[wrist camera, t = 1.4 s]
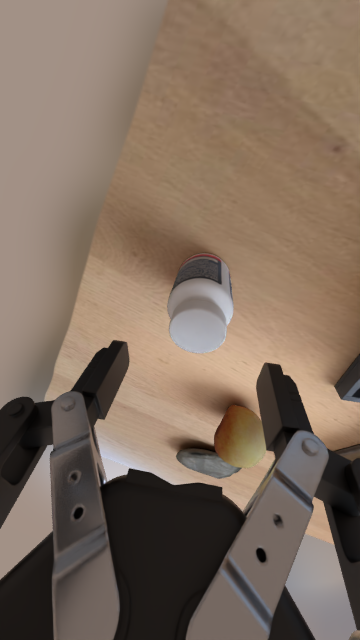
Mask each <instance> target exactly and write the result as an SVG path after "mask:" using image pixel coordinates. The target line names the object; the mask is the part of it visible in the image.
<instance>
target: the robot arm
mask: <svg viewBox="0 0 360 640" xmlns="http://www.w3.org/2000/svg"><path fill="white" fill-rule="evenodd" d="M128 367H129V353H128V345H127V342H123V341H117V340H113V341H112V343H111V344H110V346H109V347H108V348H102V349H101V350H100V351H98V352H97V353H96V354H95V356H94V357H93V359H92V360H91V362H90V363H89V364H88V367H86V369H85V370H84V372H83V373H82V375H81V376H80V378H79V379H78V381H77V382H76V384H75V385H74V387H73V388H72V390H71V391H70V392H66V393H64V394H62V395H60V396H59V397H58V398H57V399H56V400H53V401H46V402H39V403H34V401H33V400H32V399H31V398H29V397H20V398H16V399H14V400H12V401H10V402H8V403H7V404H6V405H5V406H3V407H2V409H1V410H0V528H1V527H2V525H3V523H4V521H5V520H6V518H7V516H8V514H9V513H10V511H11V509H12V507H13V505H14V504H15V502H16V500H17V498H18V497H19V495H20V493H21V491H22V490H23V488H24V486H25V484H26V482H27V481H28V479H29V477H30V475H31V474H32V472H33V470H34V468H35V466H36V465H37V463H38V461H39V459H40V458H41V456H42V454H43V452H44V451H45V449H46V447H47V445H52V444H53V445H54V448H53V451H52V452H51V453H50V474H51V495H52V496H51V497H52V519H53V531H52V532H51V533H50V534H49V535H48V536H47V537H46V538H45V539H44V540H43V541H42V542H40V543H39V544H38V545H37V546H36V547H35V548H34V549H33V550H32V551H31V552H30V553H29V554H28V555H26V556H25V557H24V558H23V559H22V560H21V561H20V562H19V563H18V564H17V565H16V566H15V567H14V568H13V569H11V570H10V571H9V572H8V573H7V574H6V575H5V576H4V577H3V578H2V579H1V580H0V640H315V638H314V636H313V634H312V633H311V631H310V629H309V627H308V625H307V624H306V622H305V620H304V618H303V617H302V615H301V613H300V611H299V609H298V608H297V606H296V604H295V602H294V601H293V599H292V597H291V595H290V593H289V592H288V590H287V588H286V586H285V583H286V581H287V578H288V575H289V573H290V570H291V568H292V565H293V562H294V560H295V557H296V555H297V552H298V549H299V547H300V544H301V541H302V539H303V536H304V534H305V531H306V529H307V526H308V523H309V521H310V518H311V515H312V513H313V508H314V505H313V504H312V500H313V497H314V496H315V497H316V498H318V499H320V500H322V501H323V503H324V506H325V510H326V514H327V518H328V522H329V525H330V529H331V533H332V537H333V541H334V544H335V548H336V552H337V556H338V559H339V563H340V567H341V571H342V575H343V578H344V582H345V586H346V590H347V593H348V597H349V601H350V605H351V609H352V613H353V616H354V620H355V624H356V628H357V631H355V632H353V633H352V635H351V636H350V638H349V640H360V458H356V459H355V460H353V461H351V460H349V459H347V458H345V457H343V456H341V455H338V454H336V453H334V452H332V451H331V450H329V449H327V448H326V446H325V445H324V443H323V442H322V441H321V440H320V439H319V438H318V437H317V436H316V435H314V433H313V431H312V428H311V426H310V423H309V420H308V417H307V414H306V411H305V409H304V406H303V403H302V402H301V401H302V400H301V397H300V395H299V392H298V389H297V386H296V384H295V382H294V381H293V380H292V379H291V377H290V376H288V375H283V371H282V368H281V366H280V365H279V364H272V363H264V365H263V368H262V370H261V372H260V375H259V377H258V380H257V385H256V390H257V396H258V402H259V408H260V414H261V420H262V426H263V432H264V438H265V444H266V450H268V451H273V452H274V454H275V460H274V462H273V463H272V465H271V467H270V468H269V470H268V472H267V473H266V475H265V477H264V478H263V480H262V482H261V483H260V485H259V487H258V488H257V490H256V492H255V493H254V495H253V496H252V498H251V499H250V501H249V502H248V504H247V506H246V507H245V509H244V511H243V512H242V511H241V510H240V508H239V507H238V506H237V505H236V504H235V503H234V502H233V501H232V500H230V499H229V498H228V497H226V496H225V495H223V494H222V487H218V486H213V485H209V484H204V483H190V484H181V485H172V484H170V483H168V482H167V481H165V480H163V479H161V478H160V477H158V476H156V475H154V474H152V473H150V472H145V471H140V470H135V469H129V471H128V474H127V475H123V476H119V477H116V478H114V479H112V480H110V481H108V482H107V478H106V474H105V471H104V467H103V463H102V459H101V455H100V450H99V445H98V441H97V436H96V432H95V427H94V425H95V423H96V421H97V419H103V420H105V417H106V415H107V413H108V411H109V409H110V407H111V404H112V402H113V400H114V398H115V396H116V394H117V391H118V389H119V387H120V385H121V383H122V381H123V378H124V376H125V374H126V372H127V370H128Z"/></svg>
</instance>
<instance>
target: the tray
mask: <svg viewBox="0 0 360 640" xmlns="http://www.w3.org/2000/svg"><path fill="white" fill-rule="evenodd" d="M334 387H335V389H336V391H337V392H338V394H339V396H340V398H341V400H347V401H353V402H360V354H359V356H358V357H357V358H356V360H355V361H354V362H353V363H352V365H351V366H350V367H349V368H348V370H347V371H346V372H345V373H344V375H343V376H342V377H341V379H340V380H339V381H338V382H337V384H336V385H335V386H334Z"/></svg>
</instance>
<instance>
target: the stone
mask: <svg viewBox="0 0 360 640" xmlns="http://www.w3.org/2000/svg"><path fill="white" fill-rule="evenodd" d="M176 458H177V460H178V461H179V462H180V463H181V464H183V465H184V466H185V467H187V468H189V469H192V470H194V471H197V472H200V473H203V474H206V475H209V476H212V477H215V478H219V479H220V478H225V477H229V476H231V475H232V474H233V473H236V472H238V471H239V470H240V469H241V468H239V467H235V466H232V465H230V464H228V463H226V462H224V461H223V460H222V459H221V458H220V457H219V456H218V454H217V453H215V452H211V451H207V450H203V449H184V450H181V451H179V452H178V453H177V455H176Z"/></svg>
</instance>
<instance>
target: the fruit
mask: <svg viewBox="0 0 360 640" xmlns="http://www.w3.org/2000/svg"><path fill="white" fill-rule="evenodd" d="M214 446H215V451H216V452H217V454H218V456H219V457H220V458H221V459H222V460H223V461H224V462H226V463H228V464H230V465H232V466H235V467H239V468H251V467H253V466H255V465H257V464H258V463H259V462H260V461H261V460H262V458H263V457H264V455H265V453H266V444H265V438H264V432H263V426H262V421H261V420H260V418H259V417H258V416H257V415H256V414H255V413H254V412H253V411H251V410H249V409H248V408H245V407H242V406H235V405H234V404H233V405H231V406H230V407H229V408H228V409H227V410H226V413H225V415H224V417H223V419H222V421H221V423H220V425H219V426H218V428H217V430H216V432H215V435H214Z"/></svg>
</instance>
